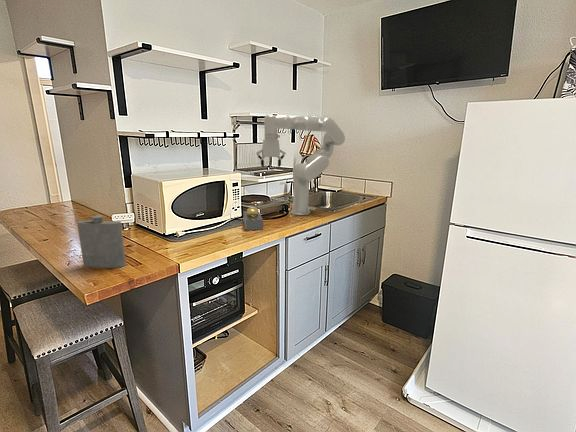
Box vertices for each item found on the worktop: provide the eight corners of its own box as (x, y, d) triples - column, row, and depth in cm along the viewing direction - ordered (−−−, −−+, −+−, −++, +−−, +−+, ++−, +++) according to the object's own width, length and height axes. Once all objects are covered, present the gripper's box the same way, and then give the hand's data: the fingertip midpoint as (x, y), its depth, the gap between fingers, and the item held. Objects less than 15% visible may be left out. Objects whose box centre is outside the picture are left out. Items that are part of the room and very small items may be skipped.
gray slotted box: (258, 219, 195) (258, 210, 194) (263, 229, 176) (262, 219, 175) (243, 220, 193) (243, 211, 192) (246, 230, 174) (245, 220, 173)
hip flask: (127, 264, 129) (121, 214, 124) (122, 268, 125) (116, 217, 120) (87, 263, 129) (79, 214, 124) (80, 267, 125) (72, 216, 120)
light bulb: (257, 222, 188) (257, 207, 186) (258, 225, 182) (258, 210, 180) (246, 222, 187) (246, 208, 185) (247, 225, 181) (247, 210, 179)
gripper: (284, 137, 197) (284, 166, 201) (255, 136, 193) (255, 166, 197) (286, 137, 189) (286, 167, 194) (256, 137, 186) (257, 167, 190)
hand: (270, 166), depth 196 cm, fingers open, 9 cm apart
